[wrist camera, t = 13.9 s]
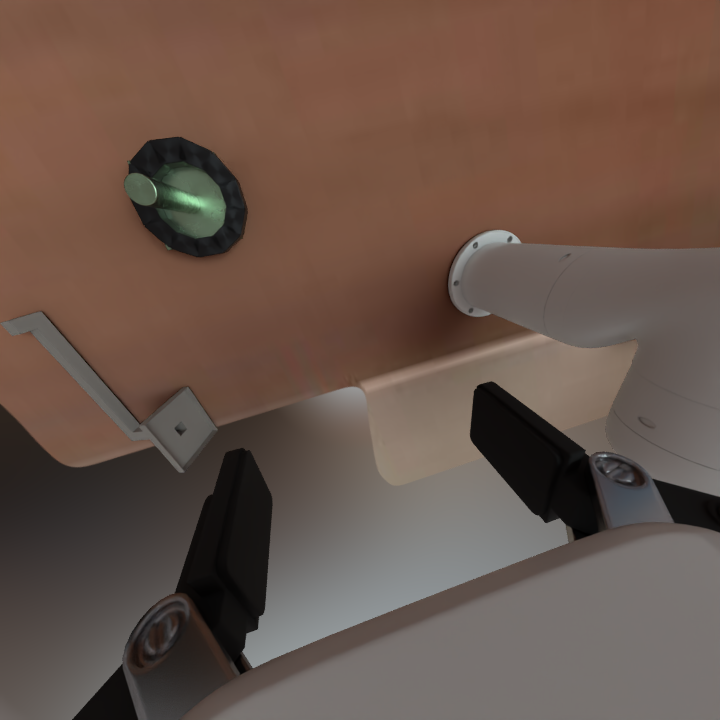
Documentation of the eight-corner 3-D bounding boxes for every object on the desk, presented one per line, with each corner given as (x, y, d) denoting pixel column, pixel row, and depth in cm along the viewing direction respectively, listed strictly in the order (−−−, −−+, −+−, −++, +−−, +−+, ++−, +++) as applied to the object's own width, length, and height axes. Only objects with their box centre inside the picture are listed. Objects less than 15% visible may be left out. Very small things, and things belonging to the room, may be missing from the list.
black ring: (224, 137, 25) (220, 131, 24) (259, 245, 30) (257, 246, 29) (115, 151, 24) (103, 145, 23) (169, 262, 29) (162, 264, 27)
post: (216, 154, 27) (173, 110, 17) (243, 238, 30) (220, 241, 21) (132, 163, 25) (35, 121, 16) (171, 249, 29) (111, 258, 20)
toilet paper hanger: (62, 304, 31) (-22, 329, 25) (122, 289, 30) (47, 312, 23) (168, 434, 42) (129, 475, 36) (217, 430, 40) (185, 472, 34)
